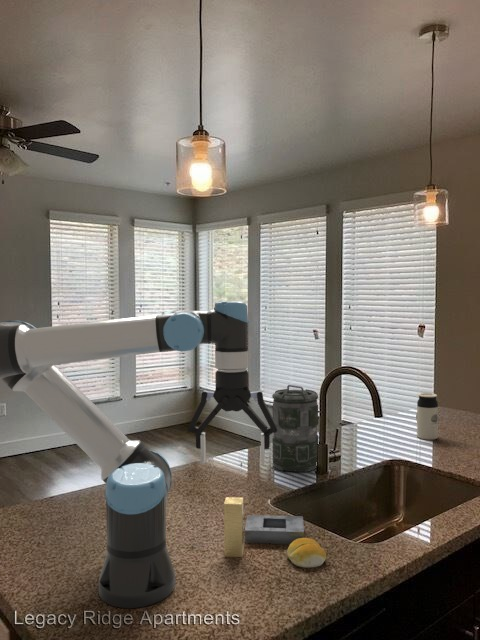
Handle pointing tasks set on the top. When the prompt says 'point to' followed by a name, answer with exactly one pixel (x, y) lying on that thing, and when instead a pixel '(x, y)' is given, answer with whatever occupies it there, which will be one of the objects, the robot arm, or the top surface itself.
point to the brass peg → (233, 527)
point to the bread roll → (306, 553)
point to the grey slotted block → (273, 529)
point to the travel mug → (427, 416)
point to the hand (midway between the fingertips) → (233, 462)
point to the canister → (295, 429)
